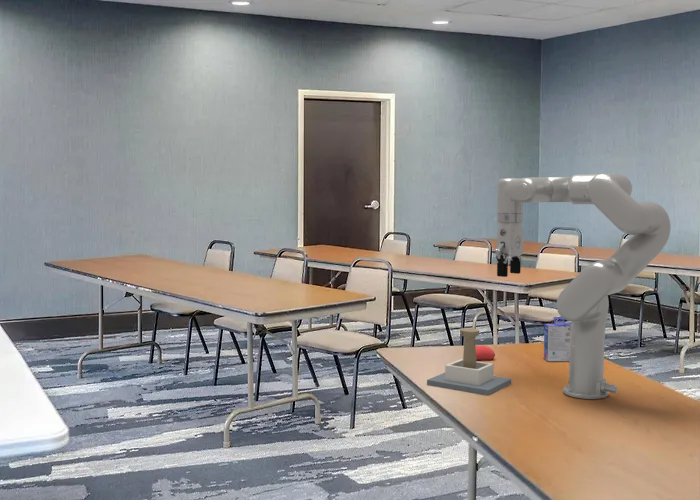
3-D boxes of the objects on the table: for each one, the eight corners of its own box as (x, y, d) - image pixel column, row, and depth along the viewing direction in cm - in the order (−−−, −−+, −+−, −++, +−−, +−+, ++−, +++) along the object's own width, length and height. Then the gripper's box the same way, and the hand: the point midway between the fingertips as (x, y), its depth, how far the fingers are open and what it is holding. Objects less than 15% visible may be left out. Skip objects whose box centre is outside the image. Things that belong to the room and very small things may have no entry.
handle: (470, 376, 249) (470, 327, 247) (482, 380, 243) (482, 330, 242) (457, 377, 247) (456, 328, 245) (468, 382, 241) (468, 332, 240)
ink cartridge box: (570, 357, 281) (571, 316, 279) (576, 361, 275) (577, 319, 274) (542, 358, 280) (543, 316, 278) (547, 362, 274) (548, 319, 273)
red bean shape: (468, 361, 281) (463, 347, 278) (493, 352, 281) (488, 337, 278) (472, 369, 277) (467, 355, 274) (497, 360, 276) (492, 345, 273)
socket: (511, 383, 246) (511, 364, 245) (488, 395, 233) (488, 374, 232) (452, 374, 257) (452, 355, 257) (426, 384, 244) (427, 365, 244)
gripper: (509, 220, 239) (508, 278, 240) (532, 218, 253) (531, 272, 255) (486, 219, 243) (485, 276, 245) (509, 217, 257) (508, 271, 259)
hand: (508, 274), depth 250 cm, fingers open, 9 cm apart
